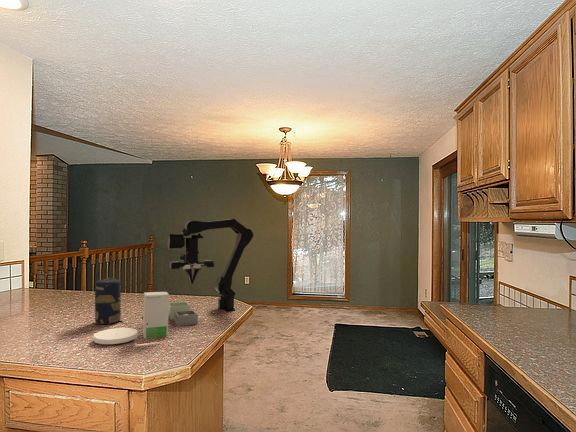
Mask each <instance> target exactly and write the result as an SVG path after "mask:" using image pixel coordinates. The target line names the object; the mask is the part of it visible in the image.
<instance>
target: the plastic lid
mask: <svg viewBox="0 0 576 432" xmlns="http://www.w3.org/2000/svg"><path fill="white" fill-rule="evenodd" d="M138 332H139V331H138V330H137V329H135V328H131V327H130V328H129V327H115V328H109V329H108V328H107V329H104V330H100V331H98V332H96V333H94V335H93V342H94V343H96V344H100V345H115V344H116V345H117V344H123V343H124V344H125V343H128V342H131V341H134V340H135V339H136V338H137V337H138Z"/></svg>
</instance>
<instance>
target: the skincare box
mask: <svg viewBox="0 0 576 432" xmlns="http://www.w3.org/2000/svg"><path fill="white" fill-rule="evenodd" d="M169 303H170V294H169V293H168V292H167V291H151V292H149V291H148V292H143V305H142V307H143V311H142V312H143V313H142V336H143V339H145V340H146V339H152V338H160V337H169V320H168V311H169Z"/></svg>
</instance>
